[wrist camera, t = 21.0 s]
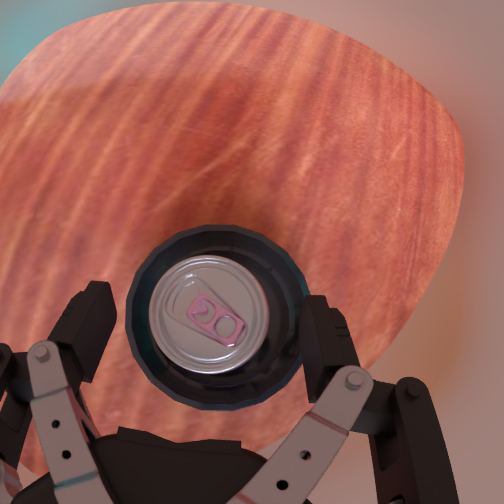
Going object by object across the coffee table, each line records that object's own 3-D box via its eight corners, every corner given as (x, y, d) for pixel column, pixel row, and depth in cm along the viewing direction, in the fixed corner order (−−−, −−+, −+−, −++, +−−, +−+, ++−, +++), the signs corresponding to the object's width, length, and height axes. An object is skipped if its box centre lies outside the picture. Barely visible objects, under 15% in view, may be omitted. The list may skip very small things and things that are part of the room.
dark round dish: (318, 367, 28) (336, 375, 23) (171, 412, 26) (158, 428, 21) (271, 224, 31) (278, 203, 26) (128, 266, 30) (108, 254, 24)
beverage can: (229, 363, 27) (224, 402, 13) (177, 327, 28) (121, 326, 13) (265, 312, 29) (296, 297, 14) (213, 276, 29) (193, 227, 15)
